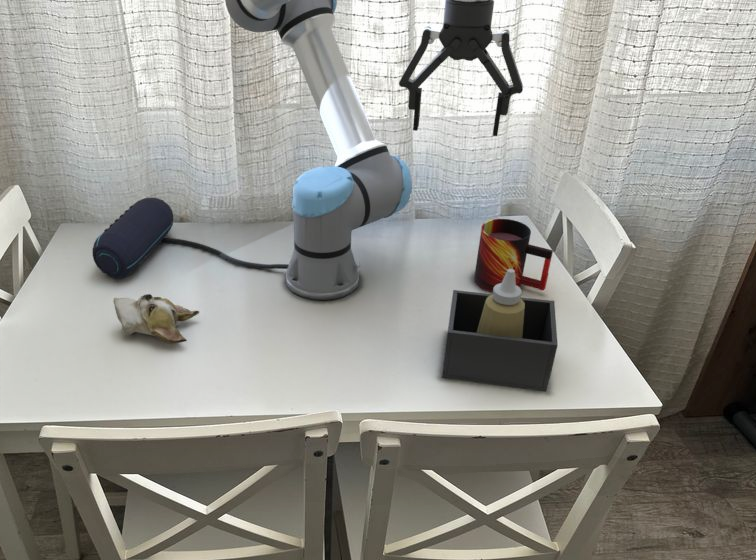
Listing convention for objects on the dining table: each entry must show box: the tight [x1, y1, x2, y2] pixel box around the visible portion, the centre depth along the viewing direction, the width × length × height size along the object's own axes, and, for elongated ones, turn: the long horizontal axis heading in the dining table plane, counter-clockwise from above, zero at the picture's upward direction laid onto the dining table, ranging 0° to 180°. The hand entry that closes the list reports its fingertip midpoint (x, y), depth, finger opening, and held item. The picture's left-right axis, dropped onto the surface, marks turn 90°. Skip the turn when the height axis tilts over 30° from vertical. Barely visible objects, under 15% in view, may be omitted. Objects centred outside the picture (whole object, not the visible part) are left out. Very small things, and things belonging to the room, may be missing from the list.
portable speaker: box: [92, 197, 174, 279], centre depth 159 cm, size 25×10×10 cm, turn 164°
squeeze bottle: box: [477, 269, 525, 338], centre depth 123 cm, size 8×8×18 cm
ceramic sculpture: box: [112, 293, 200, 344], centre depth 135 cm, size 11×9×15 cm
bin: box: [441, 289, 559, 393], centre depth 126 cm, size 18×14×10 cm
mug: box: [473, 218, 554, 293], centre depth 147 cm, size 10×14×12 cm
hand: (455, 130), depth 125 cm, fingers open, 13 cm apart
